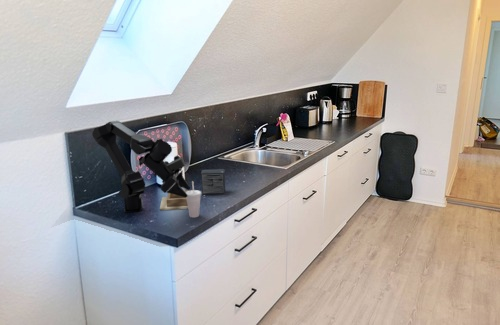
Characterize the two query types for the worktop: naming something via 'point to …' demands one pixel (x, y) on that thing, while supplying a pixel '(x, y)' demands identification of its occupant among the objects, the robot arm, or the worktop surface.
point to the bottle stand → (173, 202)
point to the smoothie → (193, 201)
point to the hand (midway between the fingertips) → (188, 192)
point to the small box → (213, 182)
